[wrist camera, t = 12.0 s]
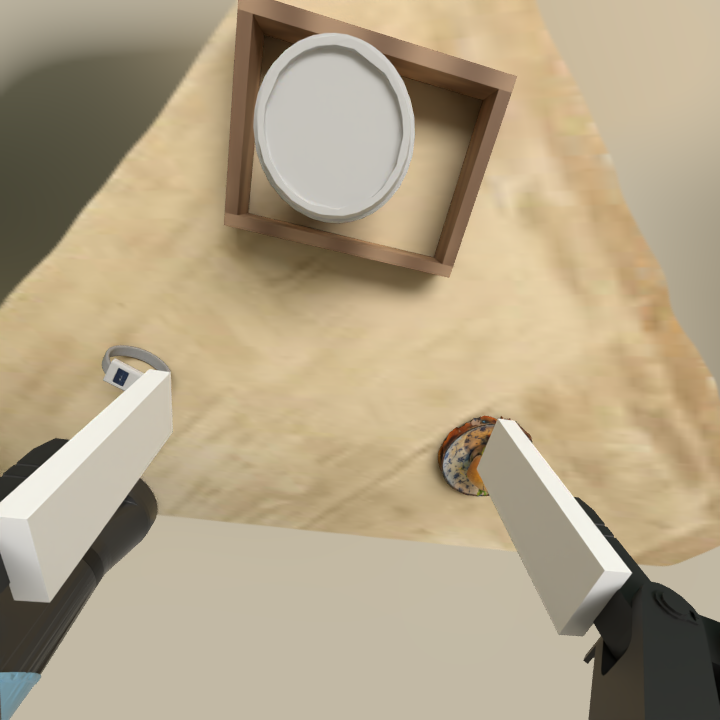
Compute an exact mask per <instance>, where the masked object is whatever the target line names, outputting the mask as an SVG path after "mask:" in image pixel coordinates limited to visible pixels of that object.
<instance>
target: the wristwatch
mask: <svg viewBox="0 0 720 720" xmlns="http://www.w3.org/2000/svg"><path fill="white" fill-rule="evenodd" d="M113 356H129V357H133V358H137V359H140V360H142V361H144V362H146V363H148V364H150V365H151V366H153V367H154V368H155V369H157V370H158V371H166V372H170V369H169V368H168V366H167V365H166V364H165V363H164V362H163V361H162V360H161V359H159V358H158V357H157V356H155V355H154V354H152V353H150V352H148V351H146V350H143V349H140V348H137V347H132V346H124V345H120V346H113V347H111V348H109V349H108V350H107V352H106V354H105V356H104V358H103V361H102V368H103V371H104V372H105V374H106V375H105V377H104V379H103V381H105V382H107V383H109V384H111V385H113V386H115V387H117V388H119V389H122V390H124V391H125V390H127V389H128V388H129V387H130V386H131V385H132V384H133V383H134V382H135V381H137V380H138V379H139V378H140V377H141V376H142V375H143V374H144V373H143V372H141V371H139V370H137V369H135V368H133V367H131V366H129V365H127V364H125V363H124V362H122V361H120V360H118V359H116V358H115V359H114V360H113V361H112V362H111V361H110V357H113Z"/></svg>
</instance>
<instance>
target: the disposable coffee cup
mask: <svg viewBox="0 0 720 720" xmlns="http://www.w3.org/2000/svg"><path fill="white" fill-rule="evenodd" d="M253 129H254V137H255V145H256V151H257V154H258V157H259V160H260V163H261V166H262V169H263V171H264V173H265V175H266V177H267V179H268V180H269V182H270V184H271V185H272V187H273V188H274V189H275V190H276V192H277V193H278V194H279V195H280V197H281V198H282V199H283V200H284V201H285V202H287V203H288V204H289V205H290V206H291V207H292V208H294V209H295V210H296V211H298V212H300V213H302V214H304V215H306V216H308V217H309V218H312V219H315V220H319V221H322V222H329V223H345V222H352V221H355V220H358V219H362V218H364V217H366V216H368V215H370V214H372V213H374V212H375V211H377V210H378V209H379V208H381V207H382V206H383V205H384V204H385V203H386V202H387V201H388V200H389V199H390V198H391V197H392V196H393V195H394V193H395V192H396V191H397V189H398V188H399V187H400V185H401V183H402V181H403V179H404V177H405V175H406V173H407V171H408V168H409V164H410V161H411V158H412V155H413V147H414V139H415V125H414V114H413V109H412V104H411V100H410V97H409V94H408V92H407V89H406V87H405V84H404V82H403V80H402V78H401V77H400V75H399V74H398V72H397V70H396V69H395V67H394V66H393V65H392V64H391V62H390V61H389V60H388V59H387V58H386V57H385V56H384V55H383V54H382V53H381V52H380V51H378V50H377V49H376V48H375V47H373V46H372V45H370V44H369V43H367V42H365V41H363V40H361V39H359V38H356V37H353V36H350V35H347V34H339V33H323V34H317V35H312V36H310V37H307V38H305V39H303V40H300V41H298V42H296V43H295V44H294V45H292V46H291V47H289V48H288V49H286V50H285V51H284V52H283V53H282V54H281V55H280V56H279V58H278V59H277V60H276V61H275V62H274V63H273V64H272V66H271V67H270V69H269V70H268V72H267V74H266V75H265V77H264V79H263V82H262V84H261V87H260V89H259V92H258V96H257V100H256V105H255V109H254V125H253Z"/></svg>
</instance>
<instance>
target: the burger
mask: <svg viewBox="0 0 720 720" xmlns="http://www.w3.org/2000/svg"><path fill="white" fill-rule="evenodd" d="M501 419H503V418H502V416H501ZM505 420H510V419H505ZM496 421H497V419H495V418H492V417H489V416H483V417H480V418H474V419H473V420H472V422H469V423H466V424H465V426H462V427H460V428H455V429H454V430H453V431H451V432H450V433H449V435H448V437H447V440H446V441H444V443H443V447H440V448H441V449H440V450H439V453H438V463H439V467H440V469H441V471H442V474H443V476H444V478H445V480H446V482H447V483H448V484H449V485H450V486H451V487H452V488H454V489H455V490H457V491H459V492H460V493H463V494H466V495H473V496H490V495H489V493H488V491H487V489H486V487H485V485H484V483H483V481H482V479H481V477H480V475H479V473H478V471H477V467H478V464H479V462H480V460H481V457H482V455H483V452H484V450H485V448H486V445H487V443H488V441H489V438H490V436H491V433H492V431H493V429H494V426H495V424H496ZM515 422H516V421H515ZM516 423H517V422H516ZM517 424H518V423H517ZM518 426H519V427H520V428H521V430H522V431H523V432H524V434H525V435H526V436H527V437H528V439H529V440H530V441H531V443H532V438H531V436H530V435H529V434H528V433H527V432H526V431H525V430H524V429H523V428H522V427H521V426H520V425H519V424H518ZM532 444H533V443H532ZM441 445H442V444H441Z"/></svg>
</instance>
